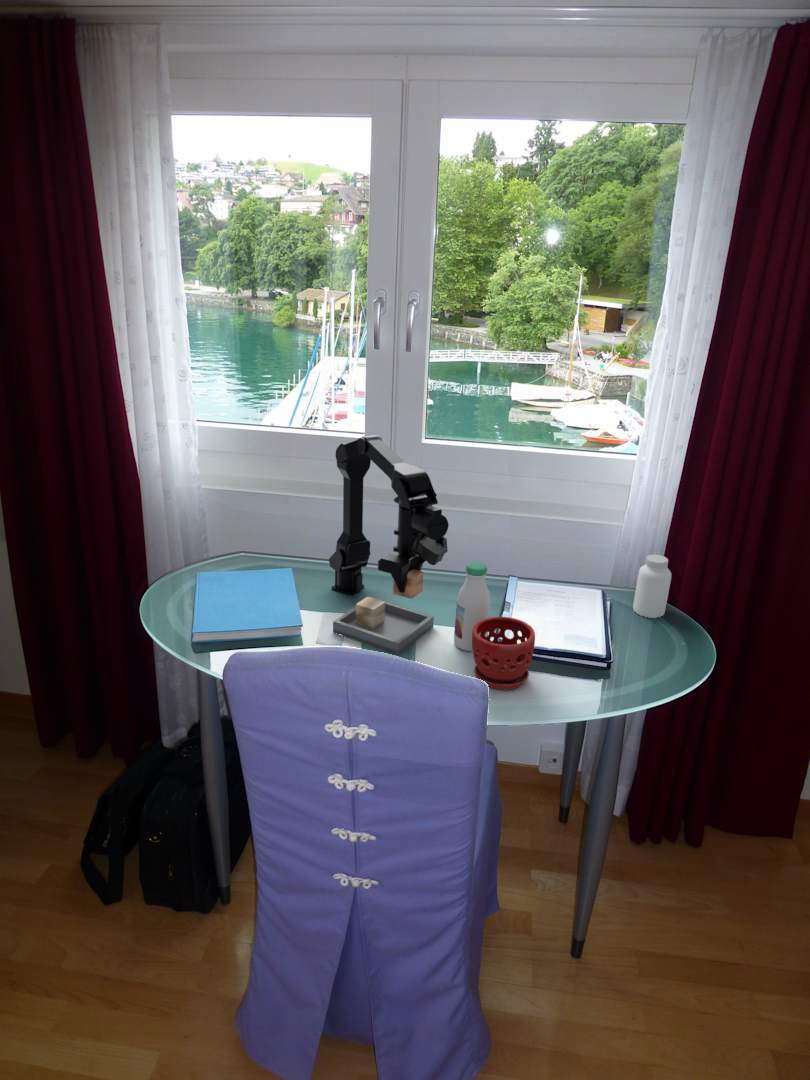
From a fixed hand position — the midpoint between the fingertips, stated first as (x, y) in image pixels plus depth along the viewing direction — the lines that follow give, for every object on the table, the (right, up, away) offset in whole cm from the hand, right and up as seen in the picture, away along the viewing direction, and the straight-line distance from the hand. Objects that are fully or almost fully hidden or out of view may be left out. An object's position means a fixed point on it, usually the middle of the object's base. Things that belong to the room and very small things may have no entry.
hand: (407, 588), depth 189 cm
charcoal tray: (-6, -10, +4) cm, 12 cm away
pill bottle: (+62, -7, +19) cm, 65 cm away
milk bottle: (+14, -13, 0) cm, 20 cm away
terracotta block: (0, -1, 0) cm, 1 cm away
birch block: (-9, -8, +5) cm, 13 cm away
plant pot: (+20, -19, -14) cm, 31 cm away
